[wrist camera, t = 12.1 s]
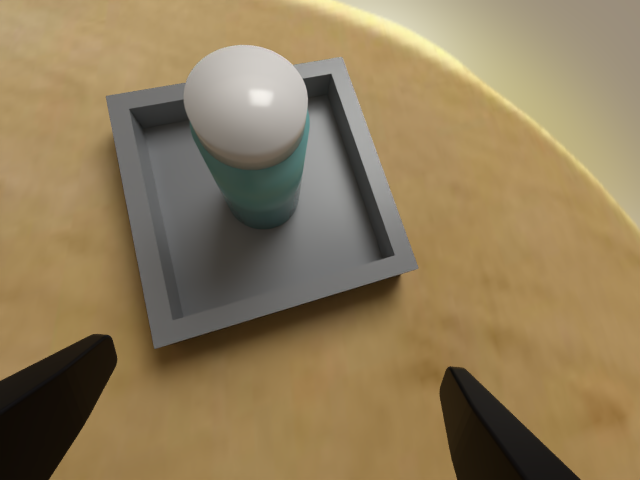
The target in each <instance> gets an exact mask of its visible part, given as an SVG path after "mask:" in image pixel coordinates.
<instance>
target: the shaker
mask: <svg viewBox="0 0 640 480" xmlns="http://www.w3.org/2000/svg"><path fill="white" fill-rule="evenodd" d="M184 106H185V110H186V113H187V116H188V118H189V120H190V130H191V134H192V137H193V140H194V142H195V143H196V145H197V147H198V149H199V151H200V153H201V155H202V157H203V159H204V161H205V163H206V165H207V167H208V168H209V170H210V172H211V174H212V176H213V178H214V180H215V182H216V184H217V186H218V188H219V190H220V192H221V193H222V195H223V197H224V199H225V201H226V203H227V205H228V207H229V209H230V211H231V213H232V214H233V215H234V217H235V218H236V219H237V220H238V221H240V222H241V223H243V224H244V225H246V226H248V227H251V228H255V229H271V228H275V227H278V226H280V225H282V224H283V223H285V222H286V221H287V220H288V219H290V217H291V216H292V215H293V214H294V212H295V210H296V208H297V205H298V201H299V195H300V188H301V182H302V175H303V168H304V162H305V155H306V148H307V142H308V135H309V128H310V119H309V113H308V109H307V107H308V96H307V90H306V86H305V83H304V81H303V79H302V77H301V75H300V74H299V72H298V71H297V70H296V68H295V67H294V66H293V65H292V64H291V63H290V62H289V61H288V60H286V59H285V58H284V57H282V56H281V55H279V54H277V53H275V52H273V51H271V50H268V49H265V48H262V47H258V46H251V45H236V46H229V47H225V48H222V49H219V50H216V51H214V52H212V53H210V54H209V55H207V56H206V57H204V58H203V59H202V60H201V61H199V62H198V63H197V65H196V66H195V67H194V68H193V69H192V71H191V72H190V74H189V76H188V78H187V81H186V84H185V87H184Z"/></svg>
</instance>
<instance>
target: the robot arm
mask: <svg viewBox="0 0 640 480" xmlns="http://www.w3.org/2000/svg"><path fill="white" fill-rule="evenodd" d="M116 364H117V355H116V351H115V347H114V343H113V340H112V338H111V336H109V335H103V334H93V335H90V336H88V337H86V338H84V339H82V340H80V341H78V342H76V343H74V344H72V345H70V346H68V347H66V348H64V349H62V350H60V351H58V352H57V353H55V354H53V355H51V356H49V357H47V358H45V359H43V360H41V361H39V362H37V363H35V364H33V365H31V366H29V367H27V368H25V369H23V370H21V371H19V372H17V373H15V374H13V375H11V376H9V377H7V378H5V379H3V380H1V381H0V480H49V479H50V477H51V475H52V474H53V472H54V471H55V469H56V468H57V466H58V465H59V463H60V462H61V460H62V459H63V457H64V456H65V454H66V452H67V451H68V449H69V448H70V446H71V445H72V443H73V442H74V440H75V439H76V437H77V436H78V434H79V432H80V431H81V429H82V428H83V426H84V424H85V423H86V421H87V419H88V417H89V416H90V414H91V412H92V410H93V408H94V406H95V404H96V403H97V401H98V399H99V397H100V395H101V393H102V391H103V389H104V388H105V386H106V384H107V382H108V380H109V378H110V376H111V374H112V372H113V371H114V369H115V367H116ZM440 401H441V406H442V411H443V417H444V422H445V427H446V433H447V438H448V444H449V449H450V454H451V458H452V462H453V466H454V470H455V473H456V477H457V480H581V479H580V478H579V477H577V476H576V475H575V474H574V473H573V472H572V471H571V470H570V469H569V468H568V467H567V466H566V465H565V464H564V463H563V462H562V461H561V460H560V459H559V458H558V457H557V456H556V455H555V454H554V453H552V452H551V451H550V450H549V449H548V448H547V447H546V446H545V445H544V444H543V443H542V442H541V441H540V440H539V439H538V438H537V437H536V436H535V435H534V434H533V433H532V432H531V431H530V430H529V429H527V428H526V427H525V426H524V425H523V424H522V423H521V422H520V421H519V420H518V419H517V418H516V417H515V416H514V415H513V414H512V413H511V412H510V411H509V410H508V409H507V408H506V407H505V406H504V405H502V404H501V403H500V402H499V401H498V400H497V399H496V398H495V397H494V396H493V395H492V394H491V393H490V392H489V391H488V390H487V389H486V388H485V387H484V386H483V385H482V384H481V383H480V382H479V381H477V380H476V379H475V378H474V377H473V376H472V375H471V374H470V373H469V372H468V371H467V370H466V369H464V368H461V367H451V366H450V367H448V368H447V369H446V371H445V374H444V377H443V380H442V383H441V386H440Z"/></svg>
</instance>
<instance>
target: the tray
mask: <svg viewBox="0 0 640 480" xmlns="http://www.w3.org/2000/svg"><path fill="white" fill-rule="evenodd" d="M293 66H294V67H295V68H296V70H297V71H298V72H299V74H300V75H301V77H302V79H303V81H304V83H305V86H306V90H307V96H308V107H307V109H308V113H309V119H310V128H309V135H308V142H307V148H306V155H305V162H304V168H303V175H302V182H301V188H300V195H299V201H298V205H297V208H296V210H295V212H294V214H293V215H292V216H291V217H290V219H288V220H287V221H286V222H285V223H283V224H282V225H280V226H278V227H275V228H271V229H255V228H251V227H248V226H246V225H244V224H243V223H241V222H240V221H238V220H237V219H236V218H235V217H234V215H233V214H232V213H231V211H230V209H229V207H228V205H227V203H226V201H225V199H224V197H223V195H222V193H221V192H220V190H219V188H218V186H217V184H216V182H215V180H214V178H213V176H212V174H211V172H210V170H209V168H208V167H207V165H206V163H205V161H204V159H203V157H202V155H201V153H200V151H199V149H198V147H197V145H196V143H195V142H194V140H193V137H192V134H191V130H190V120H189V118H188V116H187V113H186V110H185V106H184V87H185V84H186V83H181V84H175V85H169V86H163V87H157V88H151V89H145V90H139V91H133V92H127V93H121V94H115V95H109V96H106V100H107V106H108V111H109V116H110V121H111V126H112V132H113V137H114V142H115V147H116V152H117V158H118V163H119V168H120V173H121V178H122V184H123V189H124V194H125V199H126V204H127V209H128V215H129V220H130V225H131V230H132V235H133V241H134V246H135V251H136V256H137V261H138V267H139V272H140V277H141V282H142V287H143V293H144V298H145V303H146V308H147V313H148V319H149V324H150V329H151V334H152V339H153V345H154V349H156V348H160V347H163V346H167V345H170V344H174V343H177V342H180V341H184V340H187V339H190V338H194V337H197V336H200V335H203V334H207V333H210V332H213V331H216V330H220V329H223V328H226V327H230V326H233V325H236V324H239V323H243V322H246V321H249V320H253V319H256V318H259V317H262V316H266V315H269V314H272V313H275V312H279V311H282V310H285V309H289V308H292V307H295V306H298V305H302V304H305V303H308V302H312V301H315V300H318V299H321V298H325V297H328V296H331V295H334V294H338V293H341V292H344V291H348V290H351V289H354V288H357V287H361V286H364V285H367V284H370V283H374V282H377V281H380V280H384V279H387V278H390V277H393V276H397V275H400V274H403V273H406V272H409V271H412V270H415V269H418V265H417V263H416V260H415V257H414V254H413V251H412V249H411V246H410V243H409V240H408V238H407V235H406V232H405V229H404V227H403V224H402V221H401V218H400V215H399V213H398V210H397V207H396V204H395V202H394V199H393V196H392V193H391V191H390V188H389V185H388V182H387V179H386V177H385V174H384V171H383V168H382V166H381V163H380V160H379V157H378V155H377V152H376V149H375V146H374V143H373V141H372V138H371V135H370V132H369V130H368V127H367V124H366V121H365V119H364V116H363V113H362V110H361V107H360V105H359V102H358V99H357V96H356V94H355V91H354V88H353V85H352V83H351V80H350V77H349V74H348V72H347V69H346V66H345V63H344V60H343V58H342V57H338V58H332V59H326V60H320V61H314V62H308V63H302V64H296V65H293Z"/></svg>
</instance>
